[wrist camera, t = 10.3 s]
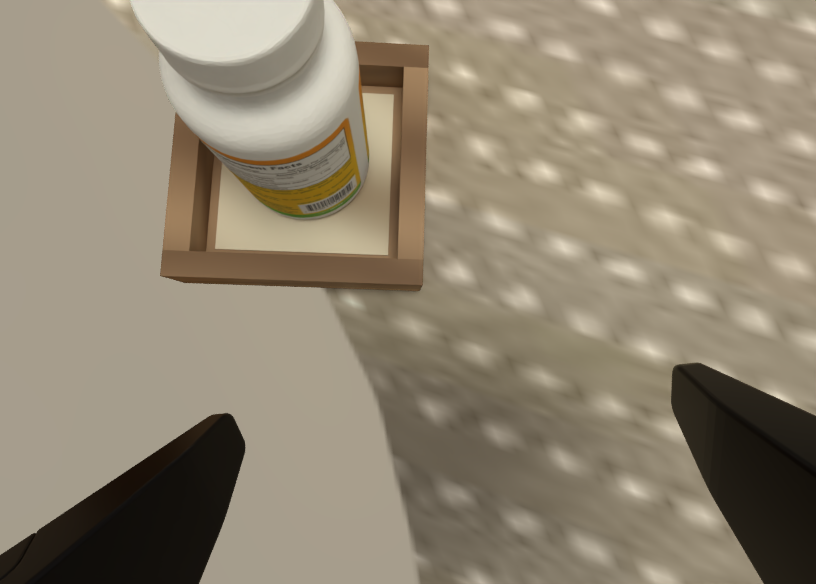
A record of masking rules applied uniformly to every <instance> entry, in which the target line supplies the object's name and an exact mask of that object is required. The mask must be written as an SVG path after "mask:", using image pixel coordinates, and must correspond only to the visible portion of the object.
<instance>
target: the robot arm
mask: <svg viewBox="0 0 816 584" xmlns="http://www.w3.org/2000/svg"><path fill="white" fill-rule="evenodd" d="M671 404H672V409H673V412H674V415H675V417H676V419H677V422H678V424H679V426H680V428H681V430H682V433H683V435H684V437H685V439H686V442H687V444H688V446H689V448H690V450H691V453H692V455H693V457H694V459H695V461H696V464H697V466H698V468H699V470H700V473H701V475H702V477H703V479H704V481H705V483H706V485H707V487H708V489H709V491H710V493H711V495H712V497H713V498H714V500H715V502H716V504H717V506H718V507H719V509H720V511H721V512H722V514H723V516H724V517H725V519H726V521H727V522H728V524H729V526H730V527H731V529H732V531H733V532H734V534H735V536H736V538H737V539H738V541H739V543H740V544H741V546H742V548H743V549H744V551H745V553H746V554H747V556H748V558H749V559H750V561H751V563H752V565H753V566H754V568H755V570H756V571H757V573H758V575H759V576H760V578H761V580H762V581H763V583H764V584H816V416H815V415H813V414H811V413H809V412H806V411H804V410H802V409H800V408H798V407H795V406H793V405H791V404H789V403H787V402H785V401H782V400H780V399H778V398H776V397H774V396H771V395H769V394H767V393H765V392H763V391H760V390H758V389H756V388H754V387H752V386H750V385H747V384H745V383H743V382H741V381H739V380H736V379H734V378H732V377H730V376H728V375H726V374H723V373H721V372H719V371H717V370H715V369H712V368H710V367H708V366H706V365H704V364H701V363H688V364H679V365H676V366H675V367H674V368H673V371H672V391H671ZM244 453H245V441H244V439H243V437H242V434H241V432H240V430H239V428H238V426H237V424H236V422H235V419H234V418H233V416H232V415H231V414H228V413H224V414H215V415H211V416H209V417H207V418H206V419H204V420H203V421H201V422H200V423H198V424H197V425H195V426H194V427H193V428H191V429H190V430H188V431H186V432H185V433H183V434H182V435H180V436H179V437H177V438H176V439H174V440H173V441H171V442H170V443H168V444H167V445H165V446H164V447H162V448H161V449H159V450H158V451H156V452H155V453H153V454H152V455H150V456H149V457H147V458H146V459H144V460H143V461H141V462H140V463H138V464H137V465H135V466H134V467H132V468H131V469H129V470H128V471H126V472H125V473H123V474H122V475H120V476H119V477H117V478H116V479H114V480H113V481H111V482H110V483H108V484H107V485H105V486H104V487H102V488H101V489H99V490H98V491H96V492H95V493H93V494H92V495H90V496H89V497H87V498H86V499H84V500H83V501H81V502H80V503H78V504H77V505H75V506H74V507H72V508H71V509H69V510H68V511H66V512H65V513H64V514H62V515H60V516H59V517H57V518H56V519H54V520H53V521H51V522H50V523H48V524H47V525H45V526H44V527H42V528H41V529H39V530H38V531H37V533H33V534H31V535H30V536H29V537H27V538H25V539H24V540H23V541H21V542H19V543H18V544H17V545H15V546H14V547H12V548H10V549H9V550H7V551H6V552H4V553H3V554H1V555H0V584H199V582H200V580H201V577H202V575H203V572H204V570H205V567H206V565H207V562H208V560H209V557H210V555H211V552H212V550H213V547H214V545H215V543H216V540H217V538H218V535H219V532H220V530H221V527H222V525H223V522H224V519H225V516H226V513H227V510H228V507H229V503H230V501H231V497H232V493H233V491H234V487H235V484H236V480H237V477H238V474H239V471H240V467H241V464H242V460H243V457H244Z"/></svg>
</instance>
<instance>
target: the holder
mask: <svg viewBox="0 0 816 584" xmlns="http://www.w3.org/2000/svg"><path fill="white" fill-rule="evenodd" d="M355 46H356V51H357V55H358V61H359V68H360V77H361V86H362V96H363V105H364V113H365V121H366V130H367V137H368V145H369V167H368V172H367V176H366V179H365V181H364V183H363V185H362V187H361V189H360V191H359V192H358V194H357V195H356V196H355V197H354V199H353V200H352V201H351V202H350V203H348V204H347V205H346V206H345V207H343V208H342V209H340V210H339V211H337V212H335V213H333V214H331V215H328V216H325V217H321V218H317V219H307V220H305V219H293V218H289V217H286V216H282V215H280V214H278V213H276V212H274V211H272V210H270V209H269V208H267V207H266V206H265V205H263V204H262V203H261V202H260V201H259V200H257V199H256V198H255V197H254V196H253V195H252V194H251V193H250V191H249V190H248V189H247V188H246V187H245V186H244V185H243V184H242V183H241V182H240V181H239V180H238V179H237V178H236V177H235V176H234V174H233V173H232V172H231V171H230V170H229V169H228V168H227V167H226V166H225V165H224V164H223V163H222V162H221V161H220V160H219V159H218V158H217V157H216V156H215V155H214V154H213V153H212V152H211V151H210V150H209V149H208V148H207V146H206V145H205V144H204V143H203V142H202V141H201V140H200V139H199V138H198V137H197V136H196V135H195V134H194V133H193V132H192V131H191V130H190V128H189V127H188V126H187V125H186V124H185V123H184V122H183V120H182V119H181V118H180V117H179V115H178V114H177V113H176V114H175V124H174V135H173V146H172V156H171V167H170V177H169V188H168V199H167V209H166V219H165V230H164V240H163V251H162V262H161V273H160V276H162V277H166V278H170V279H173V280H176V281H180V282H183V283H204V284H233V285H264V286H292V287H293V286H294V287H320V288H349V289H379V290H408V291H419V290H420V289H421V287H422V285H423V249H424V211H425V173H426V136H427V98H428V60H429V45H411V44H392V43H374V42H355Z"/></svg>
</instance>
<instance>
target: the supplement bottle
mask: <svg viewBox="0 0 816 584" xmlns="http://www.w3.org/2000/svg"><path fill="white" fill-rule="evenodd" d="M130 3H131V6H132V9H133V11H134V14H135V16H136V18H137V20H138V22H139V23H140V25H141V26H142V28H143V29H144V31H145V32H146V34H147V35H148V36H149V38H150V39H151V40H152V42H153V43H154V44H155V46H156V47H157V48H158V50H159V69H160V75H161V80H162V83H163V87H164V90H165V92H166V95H167V97H168V99H169V101H170V103H171V105H172V106H173V108H174V109H175V111H176V113H177V114H178V115H179V117H180V118H181V119H182V120H183V122H184V123H185V124H186V125H187V126H188V127H189V128H190V130H191V131H192V132H193V133H194V134H195V135H196V136H197V137H198V138H199V139H200V140H201V141H202V142H203V143H204V144H205V145H206V146H207V148H208V149H209V150H210V151H211V152H212V153H213V154H214V155H215V156H216V157H217V158H218V159H219V160H220V161H221V162H222V163H223V164H224V165H225V166H226V167H227V168H228V169H229V170H230V171H231V172H232V173H233V174H234V176H235V177H236V178H237V179H238V180H239V181H240V182H241V183H242V184H243V185H244V186H245V187H246V188H247V189H248V190H249V191H250V193H251V194H252V195H253V196H254V197H255V198H256V199H257V200H259V201H260V202H261V203H262V204H263V205H265V206H266V207H267V208H269V209H270V210H272V211H274V212H276V213H278V214H280V215H282V216H286V217H289V218H293V219H305V220H307V219H317V218H321V217H325V216H328V215H331V214H333V213H335V212H337V211H339V210H340V209H342V208H343V207H345V206H346V205H347V204H348V203H350V202H351V201H352V200H353V199H354V197H355V196H356V195H357V194H358V192H359V191H360V189H361V187H362V185H363V183H364V181H365V179H366V176H367V172H368V167H369V145H368V137H367V130H366V121H365V113H364V105H363V96H362V86H361V77H360V68H359V61H358V55H357V51H356V46H355V41H354V38H353V35H352V32H351V29H350V27H349V24H348V22H347V20H346V18H345V17H344V15H343V13H342V12H341V10H340V9H339V7H338V6H337V5H336V3H335V2H334V1H333V0H130Z"/></svg>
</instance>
